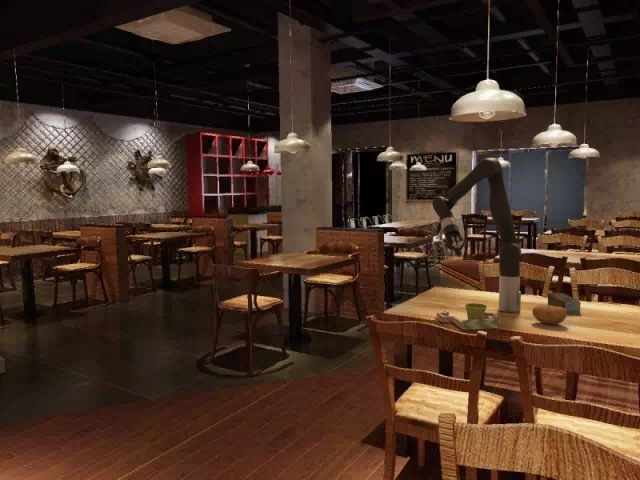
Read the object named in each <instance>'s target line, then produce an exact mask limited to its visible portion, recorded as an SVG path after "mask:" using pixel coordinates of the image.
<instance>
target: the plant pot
mask: <svg viewBox="0 0 640 480" xmlns="http://www.w3.org/2000/svg"><path fill="white" fill-rule="evenodd" d="M464 307H465V309H466V315H467V316H466V317H467V320H474V319H485V318H484V314H485V312H486V310H487V307H488V306H487V304H485V303H484V304H483V303H479V302H478V303H477V302H468V303H465V304H464Z"/></svg>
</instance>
